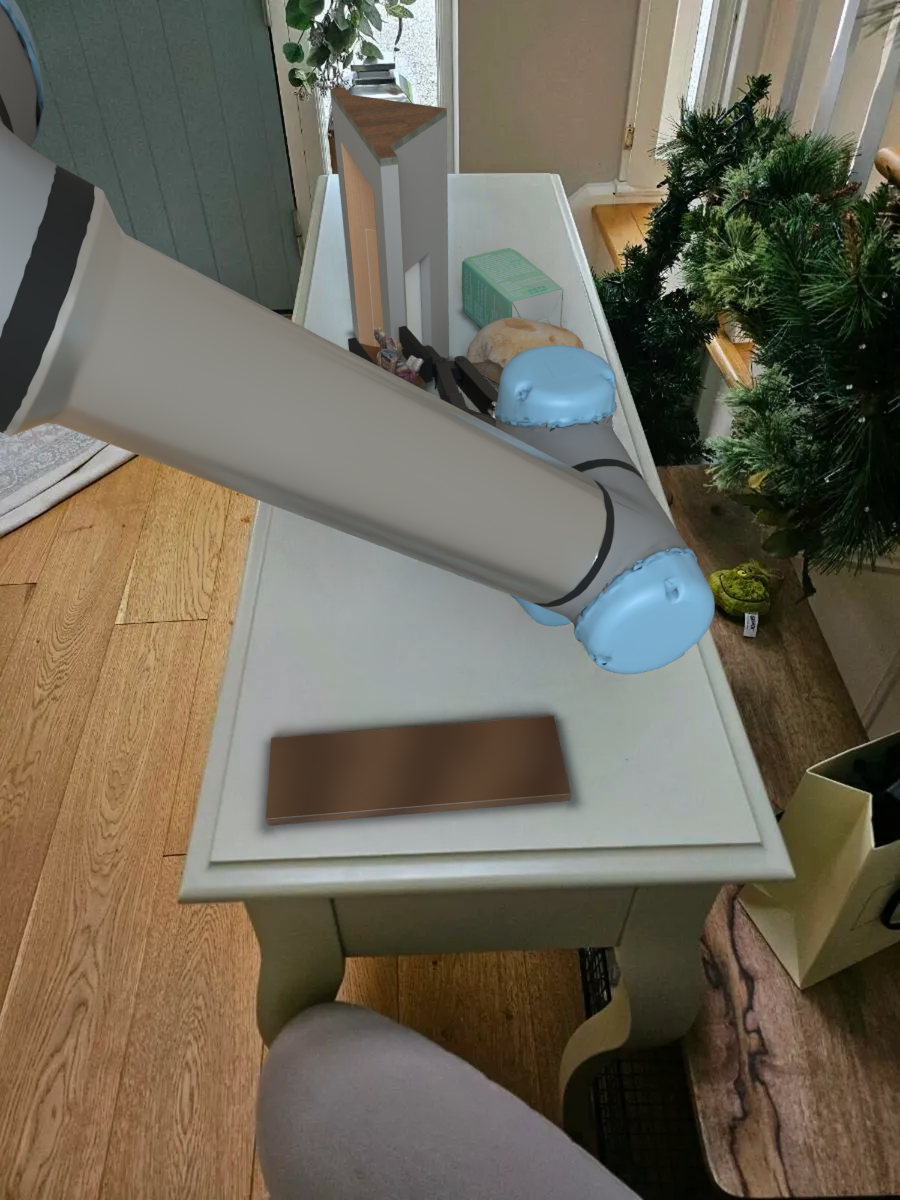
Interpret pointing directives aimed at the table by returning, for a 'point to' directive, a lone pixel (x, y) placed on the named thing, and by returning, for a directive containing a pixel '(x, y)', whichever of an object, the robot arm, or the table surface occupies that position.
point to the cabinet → (394, 217)
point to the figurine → (395, 358)
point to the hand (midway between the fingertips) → (377, 344)
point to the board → (415, 770)
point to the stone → (513, 343)
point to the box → (508, 289)
